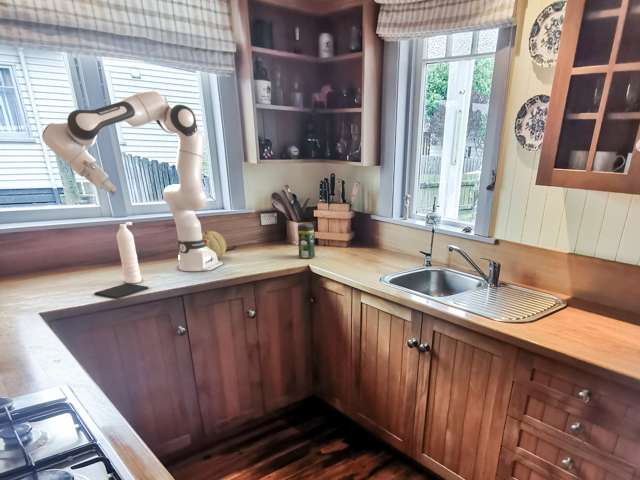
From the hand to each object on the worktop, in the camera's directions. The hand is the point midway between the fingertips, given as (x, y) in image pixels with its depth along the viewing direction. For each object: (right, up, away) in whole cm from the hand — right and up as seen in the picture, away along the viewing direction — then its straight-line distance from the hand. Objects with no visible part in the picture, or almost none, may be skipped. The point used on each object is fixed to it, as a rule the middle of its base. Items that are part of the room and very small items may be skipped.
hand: (114, 192), depth 190 cm
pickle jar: (+68, -11, +71) cm, 99 cm away
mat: (+1, -40, +4) cm, 40 cm away
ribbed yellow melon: (+20, -15, +60) cm, 64 cm away
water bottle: (-1, -33, +18) cm, 38 cm away
